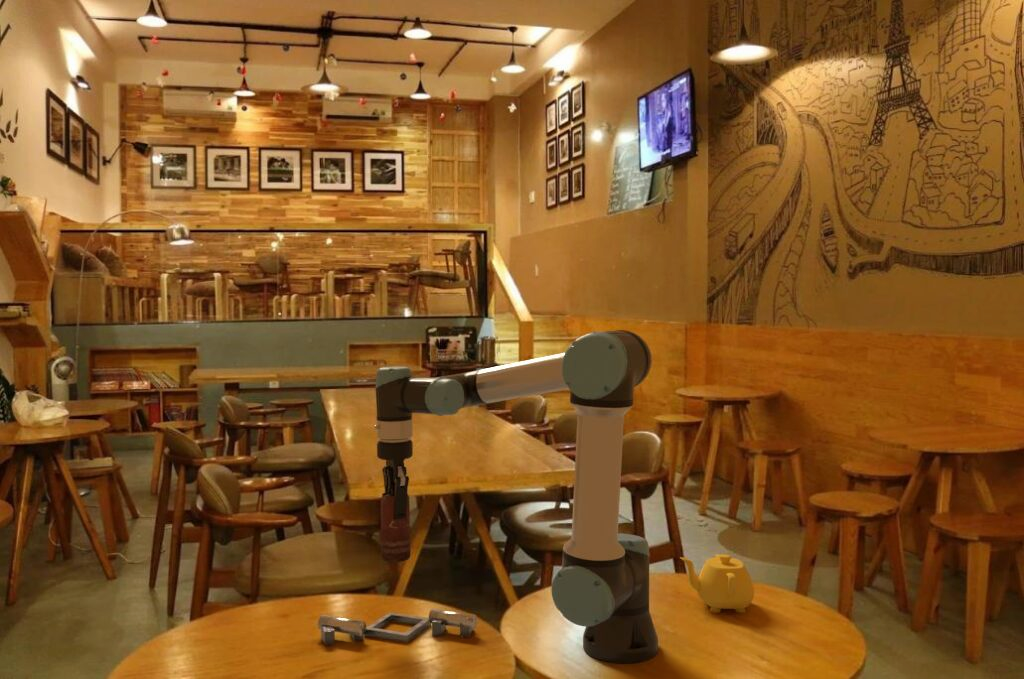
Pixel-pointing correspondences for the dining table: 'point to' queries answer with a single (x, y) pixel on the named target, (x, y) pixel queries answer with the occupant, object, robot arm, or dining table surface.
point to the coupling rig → (374, 630)
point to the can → (394, 531)
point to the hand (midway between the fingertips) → (396, 548)
